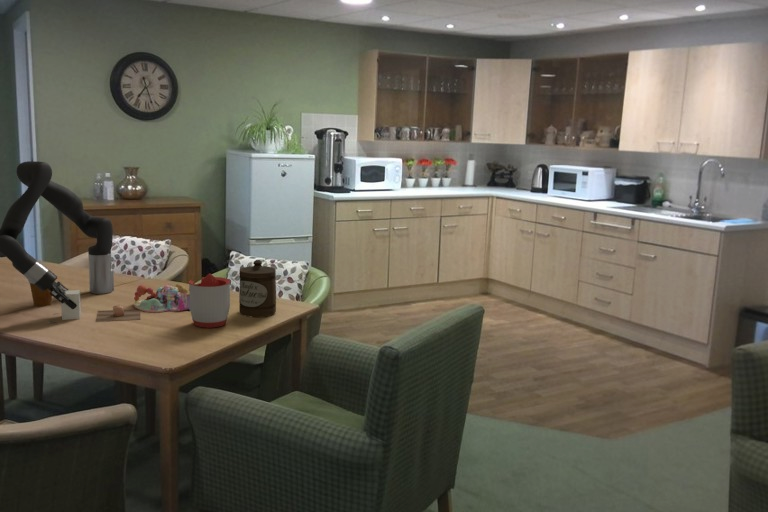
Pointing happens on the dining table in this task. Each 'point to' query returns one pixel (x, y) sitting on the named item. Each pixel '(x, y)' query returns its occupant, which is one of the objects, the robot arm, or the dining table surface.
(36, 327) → the dining table surface
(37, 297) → the disposable coffee cup
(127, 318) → the board
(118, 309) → the glossy tan pebble
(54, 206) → the robot arm
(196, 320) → the citrus juicer
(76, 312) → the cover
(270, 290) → the wooden container
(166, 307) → the pastel sphere sculpture
